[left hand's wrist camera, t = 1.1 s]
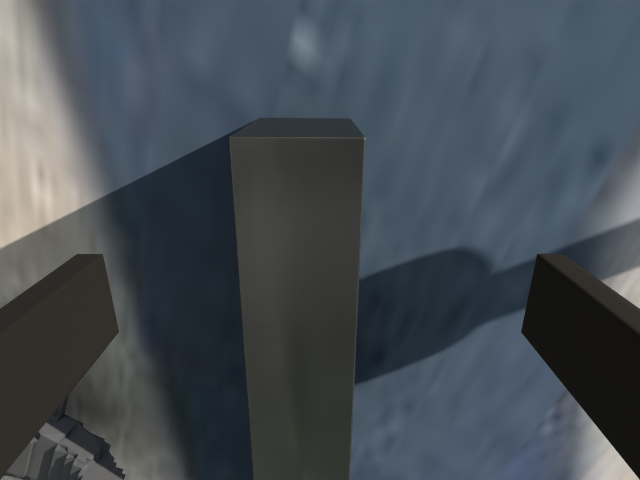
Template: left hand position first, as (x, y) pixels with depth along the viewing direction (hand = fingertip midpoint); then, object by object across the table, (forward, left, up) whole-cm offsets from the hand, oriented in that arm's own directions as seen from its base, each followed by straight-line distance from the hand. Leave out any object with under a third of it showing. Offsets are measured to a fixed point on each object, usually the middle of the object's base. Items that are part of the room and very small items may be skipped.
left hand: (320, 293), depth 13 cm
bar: (+13, +3, -13) cm, 19 cm away
